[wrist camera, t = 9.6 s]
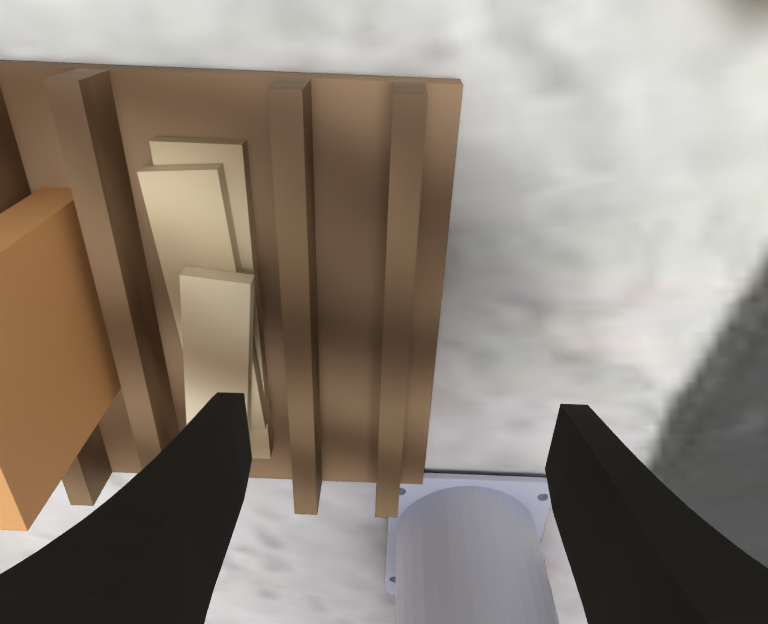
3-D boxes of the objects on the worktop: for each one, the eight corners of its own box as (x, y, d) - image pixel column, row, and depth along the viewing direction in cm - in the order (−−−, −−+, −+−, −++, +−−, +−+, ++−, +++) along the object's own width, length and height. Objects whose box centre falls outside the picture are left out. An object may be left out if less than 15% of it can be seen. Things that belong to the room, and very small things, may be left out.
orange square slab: (131, 371, 24) (27, 531, 17) (93, 370, 24) (-26, 528, 17) (88, 188, 20) (-70, 303, 13) (43, 186, 20) (-139, 300, 13)
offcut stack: (277, 448, 26) (269, 483, 25) (201, 444, 26) (187, 479, 25) (253, 139, 19) (238, 157, 17) (148, 135, 19) (122, 152, 17)
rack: (421, 468, 28) (424, 519, 26) (96, 455, 28) (66, 504, 26) (459, 78, 19) (469, 97, 16) (-25, 59, 19) (-90, 73, 16)
